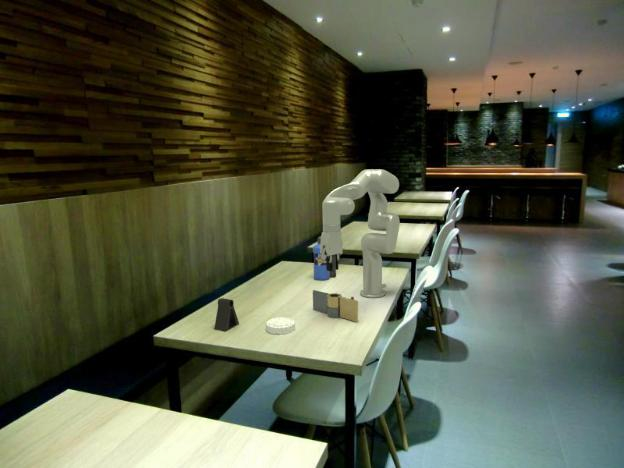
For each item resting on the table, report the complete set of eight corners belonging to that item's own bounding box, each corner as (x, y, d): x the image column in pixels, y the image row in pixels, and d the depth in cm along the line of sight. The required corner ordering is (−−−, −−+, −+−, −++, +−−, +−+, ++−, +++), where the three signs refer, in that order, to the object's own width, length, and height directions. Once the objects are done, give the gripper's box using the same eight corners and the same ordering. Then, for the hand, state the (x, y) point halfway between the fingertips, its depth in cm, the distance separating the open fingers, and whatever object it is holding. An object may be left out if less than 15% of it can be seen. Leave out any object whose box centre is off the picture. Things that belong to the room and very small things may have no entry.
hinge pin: (332, 275, 193) (331, 249, 191) (337, 276, 191) (337, 249, 189) (327, 277, 191) (327, 250, 189) (332, 278, 189) (332, 251, 187)
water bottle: (329, 280, 250) (329, 237, 245) (313, 281, 250) (312, 237, 246) (329, 276, 259) (328, 234, 255) (313, 276, 259) (312, 235, 255)
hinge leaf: (333, 311, 198) (333, 292, 197) (361, 319, 188) (361, 299, 186) (324, 315, 194) (324, 295, 192) (352, 323, 183) (352, 303, 182)
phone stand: (225, 331, 178) (224, 303, 176) (214, 329, 181) (212, 301, 179) (239, 324, 186) (238, 297, 184) (228, 322, 188) (226, 295, 186)
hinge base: (318, 307, 204) (318, 288, 203) (344, 315, 194) (344, 295, 192) (309, 311, 200) (308, 291, 198) (335, 319, 189) (335, 298, 188)
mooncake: (288, 336, 172) (288, 328, 172) (261, 333, 176) (260, 324, 176) (299, 325, 183) (299, 317, 183) (273, 322, 187) (273, 314, 187)
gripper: (337, 225, 196) (338, 265, 199) (312, 230, 184) (313, 272, 187) (350, 226, 190) (351, 267, 194) (325, 232, 179) (326, 275, 182)
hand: (332, 269), depth 190 cm, fingers closed on hinge pin, 3 cm apart
